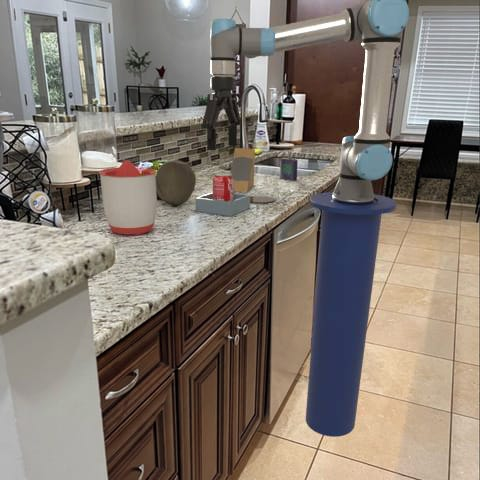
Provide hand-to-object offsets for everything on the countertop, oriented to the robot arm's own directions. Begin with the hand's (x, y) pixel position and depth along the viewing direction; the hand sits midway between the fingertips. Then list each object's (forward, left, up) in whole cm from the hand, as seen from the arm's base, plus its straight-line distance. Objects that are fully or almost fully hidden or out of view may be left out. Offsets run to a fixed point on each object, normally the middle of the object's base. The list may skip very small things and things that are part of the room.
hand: (222, 147), depth 163 cm
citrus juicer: (+10, +35, -21) cm, 42 cm away
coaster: (-4, -20, -20) cm, 29 cm away
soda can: (0, 0, -21) cm, 21 cm away
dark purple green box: (+4, -67, -21) cm, 70 cm away
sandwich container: (+13, -37, -21) cm, 44 cm away
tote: (0, 0, -20) cm, 20 cm away
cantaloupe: (+18, +2, -21) cm, 27 cm away
